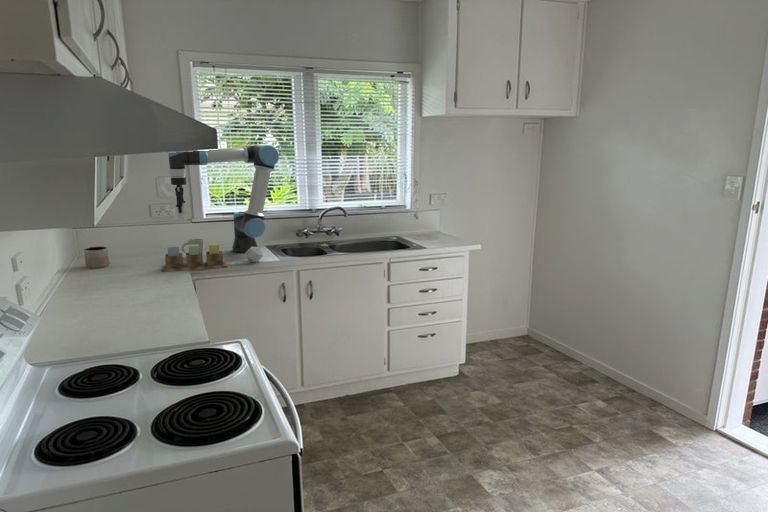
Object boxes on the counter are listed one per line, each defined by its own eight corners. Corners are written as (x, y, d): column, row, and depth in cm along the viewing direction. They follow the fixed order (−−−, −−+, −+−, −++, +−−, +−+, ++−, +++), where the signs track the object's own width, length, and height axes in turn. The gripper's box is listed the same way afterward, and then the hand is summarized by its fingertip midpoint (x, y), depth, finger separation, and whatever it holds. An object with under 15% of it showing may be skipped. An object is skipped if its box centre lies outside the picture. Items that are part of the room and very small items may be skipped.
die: (266, 261, 285) (261, 246, 288) (261, 257, 276) (256, 241, 279) (252, 267, 285) (247, 251, 288) (246, 263, 276) (241, 246, 279)
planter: (81, 267, 266) (79, 249, 263) (101, 262, 275) (99, 245, 273) (94, 269, 261) (92, 251, 258) (114, 265, 270) (112, 247, 268)
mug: (201, 259, 286) (200, 241, 284) (179, 258, 286) (177, 241, 284) (206, 256, 294) (205, 239, 292) (184, 255, 294) (183, 238, 292)
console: (225, 261, 281) (225, 249, 279) (227, 267, 269) (226, 254, 268) (163, 265, 270) (161, 253, 268) (161, 271, 258) (160, 258, 257)
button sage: (199, 257, 272) (198, 244, 270) (199, 259, 267) (198, 246, 266) (189, 257, 270) (188, 244, 268) (189, 259, 265) (188, 246, 264)
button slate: (179, 258, 268) (178, 245, 267) (179, 260, 264) (178, 247, 262) (169, 258, 267) (168, 245, 265) (168, 261, 262) (167, 247, 260)
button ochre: (219, 255, 275) (218, 243, 274) (219, 257, 271) (218, 244, 269) (209, 256, 273) (208, 243, 272) (209, 258, 269) (208, 245, 267)
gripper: (172, 175, 278) (175, 214, 283) (168, 179, 255) (172, 220, 260) (186, 175, 281) (190, 213, 285) (184, 178, 257) (188, 220, 262)
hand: (181, 217), depth 273 cm, fingers open, 13 cm apart
